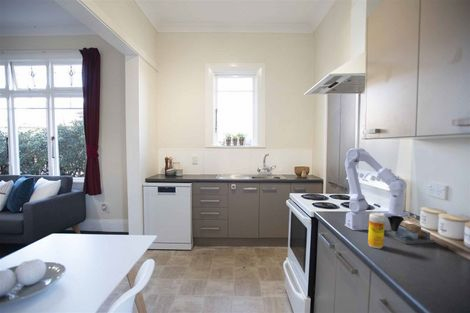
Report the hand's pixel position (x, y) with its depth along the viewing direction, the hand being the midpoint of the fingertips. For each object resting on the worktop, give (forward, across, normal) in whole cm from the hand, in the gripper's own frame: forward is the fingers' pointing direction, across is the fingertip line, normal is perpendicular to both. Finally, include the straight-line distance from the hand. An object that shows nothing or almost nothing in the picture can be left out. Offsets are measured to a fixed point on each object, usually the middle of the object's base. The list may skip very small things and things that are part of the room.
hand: (394, 230), depth 121 cm
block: (+2, +10, -1) cm, 10 cm away
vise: (+4, +8, -1) cm, 9 cm away
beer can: (+4, -16, -7) cm, 18 cm away
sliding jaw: (+2, +6, -1) cm, 7 cm away
